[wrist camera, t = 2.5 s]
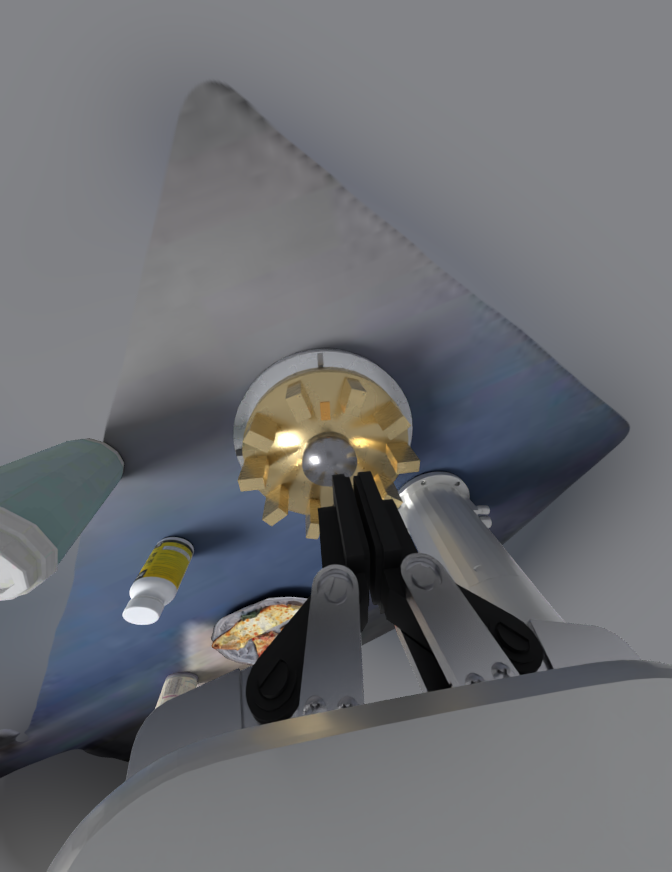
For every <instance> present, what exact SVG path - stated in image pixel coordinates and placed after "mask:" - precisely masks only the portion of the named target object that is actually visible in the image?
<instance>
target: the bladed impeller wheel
mask: <svg viewBox="0 0 672 872" xmlns="http://www.w3.org/2000/svg"><path fill="white" fill-rule="evenodd" d="M410 426H411V425H410V423H409V422H408V421H407V419H406V418H405V416H404V415H403V414H402V412H401V410H400V408H399V407H398V405H397V404H396V402H395V401H394V400H393V399H392V398H391V397H390V396H389V395H388V393H387V392H386V391H385V390H384V389H383V388H382V387H381V386H380V385H379V384H377V383H376V382H375V381H373V380H372V379H370V378H368V377H367V376H365V375H363V374H360V373H358V372H356V371H352V370H349V369H345V368H338V367H317V368H310V369H306V370H302V371H299V372H296V373H294V374H291V375H289V376H287V377H285V378H284V379H282V380H280V381H279V382H277V383H276V384H275V385H273V386H272V387H271V388H270V389H268V391H267V392H266V393H265V394H264V395H263V396H262V397H261V398H260V400H259V401H258V403H257V404H256V406H255V407H254V409H253V412H252V414H251V416H250V418H249V420H248V423H247V425H246V428H245V432H244V436H243V443H242V454H243V460H244V464H243V467H242V470H241V472H240V475H239V478H238V483H239V486H240V490H241V491H250V490H259V491H260V492H261V493H262V494H263V495H264V496H266V501H265V507H264V513H263V518H262V520H263V521H265V522H266V523H268V524H269V525H271V526H273V525H274V524H275V523H277V522H278V521H280V520H281V519H282V518H284V517H285V516H287V515H288V510H290V511H293V512H296V513H301V514H306V538H311V539H318V537H319V534H320V531H319V519H318V508H321V507H329V506H334V503H333V488H332V475H337V474H344V475H345V477H350V480H351V484H352V487H353V476H357V474H358V472H364V471H371V473H372V475H373V478H374V480H375V483H376V485H377V488H378V490H379V493H380V495H381V498H382V500H387V499H393V500H394V502H395V504H396V506H397V508H399V507H400V506H401V504H402V503H403V501H402V499H401V497H400V495H399V493H398V491H397V489H396V487H395V485H394V483H393V482H394V481H395V479H396V478H397V476H398V475H399V474H401V473H410V472H419V466H420V460H419V458H418V457H417V456H416V454H415V453H414V451H413V450H412V449H411V447H410V446H409V445H408V429H407V428H409V427H410Z"/></svg>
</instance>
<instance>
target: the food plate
mask: <svg viewBox="0 0 672 872" xmlns="http://www.w3.org/2000/svg"><path fill="white" fill-rule="evenodd" d="M306 600H307V598H305V599H304V598H298V597H276V598H268V599H265V600H263V601H260V602H258V603H255V604H253V605H249V606H247V607H245V608H243V609H241V610H239V611H235V612H234V613H232V614H229V615H228V616H224V617H223V618H222V619H220V620H219V621H218V622H217V623H216V624H215V626H214V629H213V634H212V637H211V640H212V641H213V644H212V648H214V649H216V650H217V651H218V652H219V653H221V654H222V655H223V656H224V657H226V658H227V659H229V660H232V661H234V662H237V663H242V664H248V665H254V664H255V662H256V661H257V659H258V658H259V657H260V656H261V654H262V653H263V652H264V651H265V650H266V648H267V647H268V646H269V645H270V644H271V642H272V641H273V640H274V639H275V638H276V636H277V635H278V634H279V633H280V632H281V630H282V629H283V628H284V627H285V626H286V624H287V623H288V622H289V621H290V620H289V619H291V618H292V617H293V616H294V615H295V613H296V612H297V611H298V610H299V609H300V607H301V606H302V605H303V604H304V603H305V601H306ZM266 631H267V632H266Z"/></svg>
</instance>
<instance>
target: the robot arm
mask: <svg viewBox="0 0 672 872" xmlns="http://www.w3.org/2000/svg"><path fill="white" fill-rule="evenodd" d="M332 488H333V503H334V506H329V507H321V508H318V519H319V531H320V543H321V556H322V568H323V569H321V570H320V571H319V572H318V573H317V575H316V576H315V578H314V580H313V584H312V591H311V595H310V597H309V598H308V599H307V600H306V601H305V603H304V604H303V605H302V606H301V607H300V609H299V610H298V611H297V612H296V613H295V615H294V616H293V617H292V618H291V619H290V621H289V622H288V623H287V624H286V626H285V627H284V628H283V629H282V630H281V632H280V633H279V634H278V635H277V636H276V638H275V639H274V640H273V641H272V642H271V644H270V645H269V646H268V647H267V648H266V650H265V651H264V652H263V653H262V654H261V656H260V657H259V658H258V659H257V661H256V662H255V664H254V665H252V666H250V667H248V668H246V669H243V670H241V671H240V669H239V668H238V669H236V670H234V671H232V672H230V673H227V674H225V675H223V676H221V677H219V678H216V679H214V680H212V681H210V682H208V683H205V684H203V685H201V686H199V687H197V688H194V689H192V690H190V691H188V692H186V693H183V694H181V695H179V696H177V697H175V698H172V699H170V700H168V701H166V702H165V703H163V704H162V705H160V706H159V707H157V708H156V709H155V710H154V711H153V712H152V713H151V714H150V715H149V716H148V718H147V719H146V720H145V722H144V723H143V725H142V727H141V728H140V730H139V732H138V733H137V736H136V739H135V742H134V745H133V748H132V752H131V757H130V762H129V767H128V772H127V776H126V781H125V783H123V784H122V785H121V786H119V787H118V788H116V789H115V790H114V791H113V792H112V793H111V794H110V795H108V796H107V797H106V798H105V799H104V800H103V801H102V802H101V803H100V804H99V805H97V806H96V807H95V808H94V809H93V810H92V811H91V812H90V814H88V816H86V818H85V819H84V820H83V821H82V822H81V823H80V824H79V825H78V826H77V828H76V829H75V830H74V831H73V833H72V834H71V835H70V836H69V838H68V839H67V841H66V842H65V844H64V845H63V846H62V848H61V849H60V851H59V852H58V854H57V855H56V857H55V858H54V860H53V861H52V863H51V865H50V866H49V868H48V870H47V872H672V665H670V664H665V663H661V662H654V661H646V660H641V659H640V657H639V656H638V655H637V653H636V652H635V651H634V650H633V649H632V648H631V646H629V644H628V643H627V642H625V641H624V640H623V639H622V638H620V637H619V636H618V635H616V634H615V633H613V632H611V631H609V630H607V629H605V628H602V627H598V626H593V625H583V624H574V623H566V622H565V621H564V620H563V619H562V618H561V617H560V615H559V614H558V613H557V612H556V611H555V610H554V608H553V607H552V606H551V605H550V604H549V603H548V601H547V600H546V599H545V598H544V597H543V595H542V594H541V593H540V592H539V590H538V589H537V588H536V587H535V585H534V584H533V583H532V582H531V581H530V579H529V578H528V577H527V576H526V574H525V573H524V572H523V571H522V570H521V568H520V567H519V566H518V565H517V563H516V562H515V561H514V560H513V558H512V557H511V556H510V555H509V554H508V552H507V551H506V550H505V549H504V547H503V546H502V545H501V544H500V542H499V541H498V540H497V539H496V538H495V536H494V535H493V534H492V533H491V531H490V530H489V529H488V528H490V527H491V524H492V523H491V519H490V517H488V516H485V515H478V514H489V512H490V509H489V507H488V506H487V505H478V506H475V505H474V504H473V503H472V501H471V500H470V499H469V497H470V494H469V489H468V488H467V486H466V484H465V483H464V482H463V481H462V479H460V478H459V477H458V476H456V475H454V474H452V473H448V472H430V473H426V474H422V475H420V476H418V477H415V478H414V479H412V480H410V481H409V482H407V483H406V484H405V485H404V486H403V487H401V489H400V490H399V491H398V493H399V495H400V497H401V499H402V501H403V503H402V504H401V506H400V507H399V508H397V506H396V504H395V502H394V500H393V499H387V500H382V498H381V495H380V493H379V490H378V488H377V485H376V483H375V480H374V478H373V475H372V473H371V471H364V472H358V474H357V476H353V487H352V484H351V480H350V477H345V475H344V474H337V475H332ZM409 534H411V536H412V538H413V541H414V543H415V545H416V547H417V549H418V551H419V553H418V552H417V550H416V548H415V545H414V543H413V541H412V539H411V537H410V535H409ZM369 590H370V594H371V598H372V602H373V605H378V606H379V609H380V613H381V614H383V613H385V615H386V619H387V620H389V621H390V622H391V623H393V624H394V625H395V628H396V632H397V634H398V636H399V639H400V641H401V643H402V646H403V648H404V651H405V653H406V655H407V658H408V660H409V662H410V664H411V667H412V669H413V672H414V674H415V677H416V679H417V681H418V684H419V686H420V688H421V691H422V693H421V694H416V695H411V696H405V697H400V698H395V699H390V700H384V701H379V702H374V703H369V704H364V689H363V669H362V648H361V632H362V631H363V629H364V627H365V626H366V624H367V622H368V606H369Z"/></svg>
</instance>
